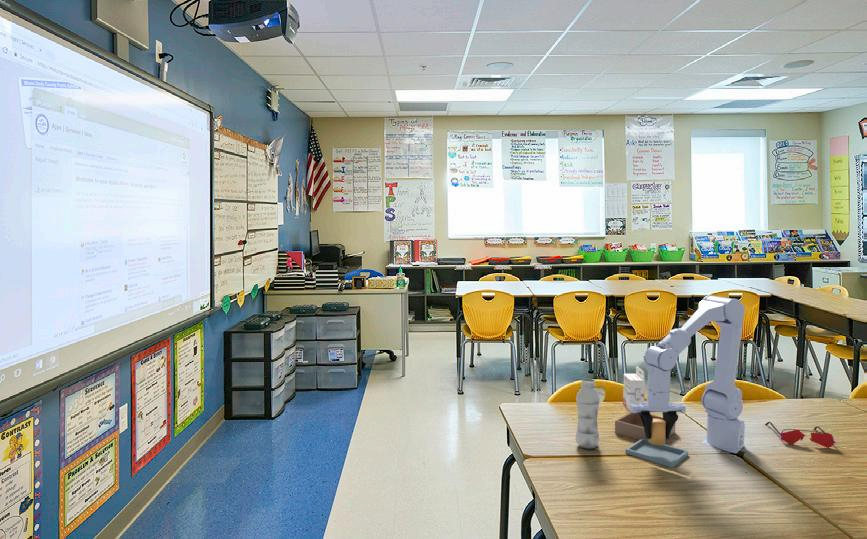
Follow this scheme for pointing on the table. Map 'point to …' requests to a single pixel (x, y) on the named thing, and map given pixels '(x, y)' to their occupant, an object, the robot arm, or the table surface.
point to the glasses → (796, 435)
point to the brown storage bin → (634, 426)
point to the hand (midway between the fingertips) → (657, 437)
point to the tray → (657, 453)
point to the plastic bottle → (587, 415)
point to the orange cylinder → (658, 432)
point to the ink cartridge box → (634, 388)
